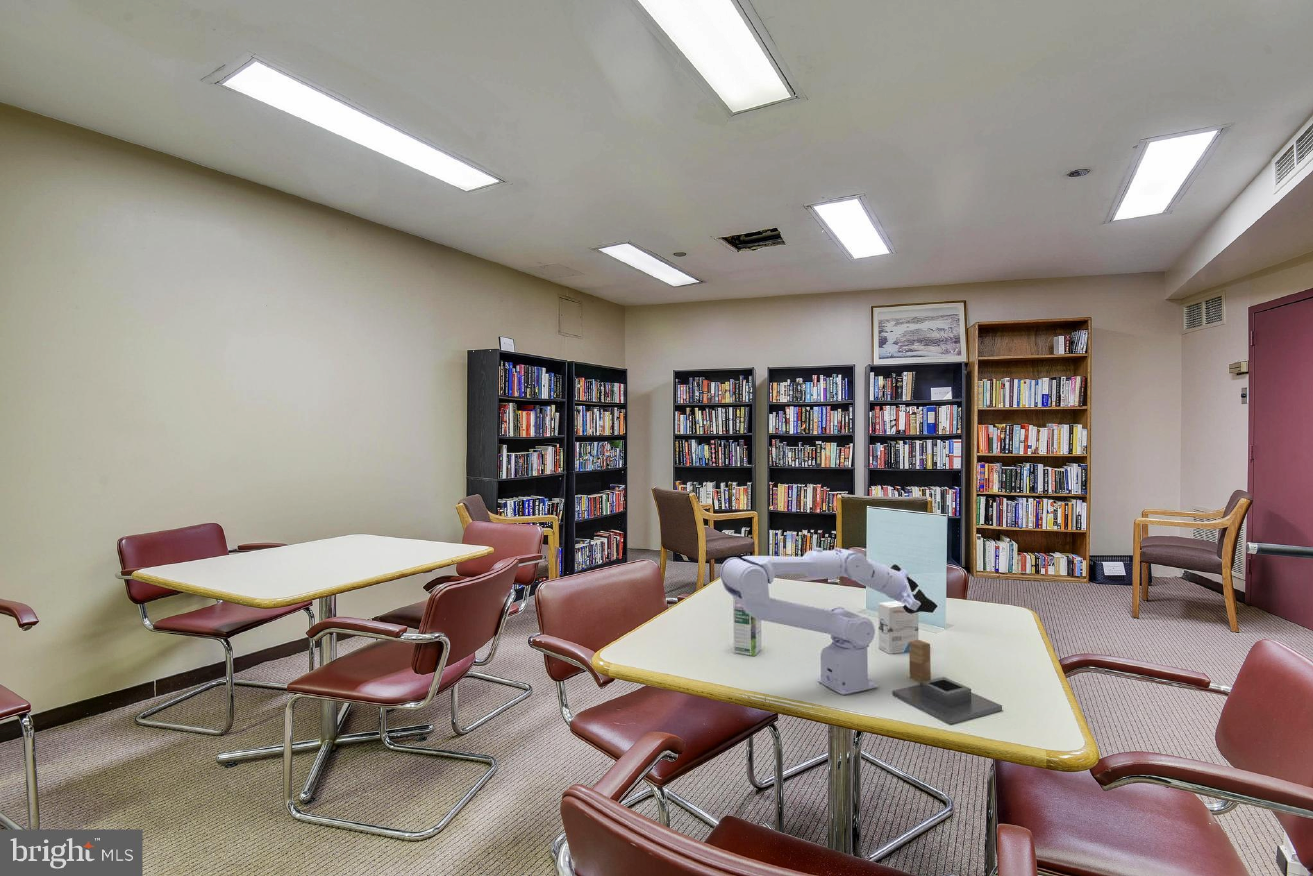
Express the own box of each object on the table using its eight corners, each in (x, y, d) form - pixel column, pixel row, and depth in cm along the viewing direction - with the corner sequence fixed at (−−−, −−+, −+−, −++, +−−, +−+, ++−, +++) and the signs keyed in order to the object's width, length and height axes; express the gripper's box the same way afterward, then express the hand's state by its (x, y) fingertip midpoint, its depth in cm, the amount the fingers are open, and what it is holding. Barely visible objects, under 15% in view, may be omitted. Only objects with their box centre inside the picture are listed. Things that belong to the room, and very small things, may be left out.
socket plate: (949, 724, 110) (949, 705, 110) (892, 695, 123) (892, 678, 123) (1002, 710, 115) (1001, 692, 115) (941, 684, 128) (941, 667, 128)
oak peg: (920, 682, 129) (919, 645, 129) (909, 677, 132) (909, 641, 132) (930, 680, 130) (930, 643, 130) (919, 675, 133) (919, 639, 133)
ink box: (906, 644, 153) (905, 599, 153) (920, 651, 148) (919, 604, 149) (877, 648, 151) (877, 601, 151) (890, 655, 146) (889, 607, 146)
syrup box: (732, 653, 148) (732, 595, 149) (740, 646, 154) (740, 589, 154) (754, 656, 146) (754, 597, 146) (762, 649, 151) (761, 592, 151)
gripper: (907, 583, 124) (954, 604, 128) (873, 546, 137) (917, 566, 141) (887, 609, 125) (934, 629, 129) (856, 570, 139) (900, 589, 143)
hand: (924, 598), depth 135 cm, fingers open, 7 cm apart
